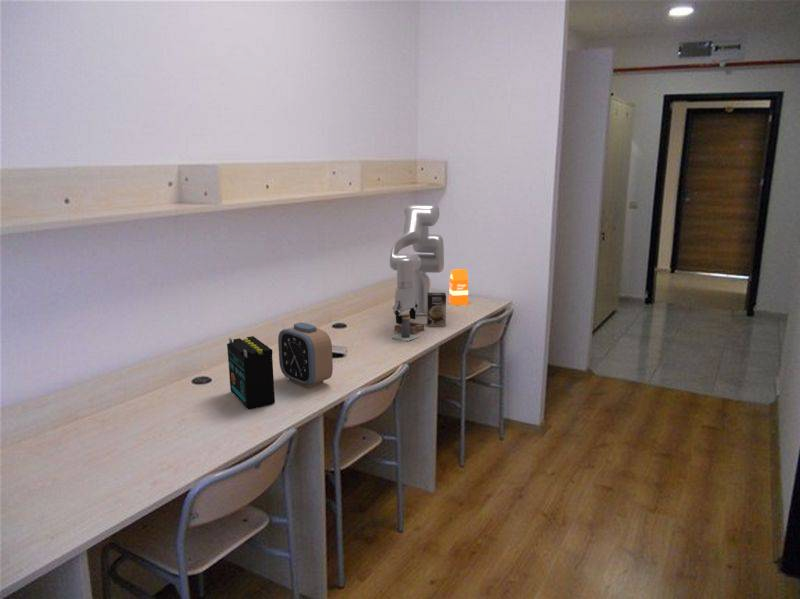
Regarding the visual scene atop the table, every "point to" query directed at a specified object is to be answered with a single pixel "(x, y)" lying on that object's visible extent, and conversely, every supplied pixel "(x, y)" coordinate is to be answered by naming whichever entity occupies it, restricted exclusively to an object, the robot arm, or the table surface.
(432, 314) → the coffee box
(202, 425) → the table surface
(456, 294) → the orange juice
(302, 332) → the alarm clock
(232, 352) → the battery
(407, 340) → the mat
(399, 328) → the socket block
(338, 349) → the table surface
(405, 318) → the plug
